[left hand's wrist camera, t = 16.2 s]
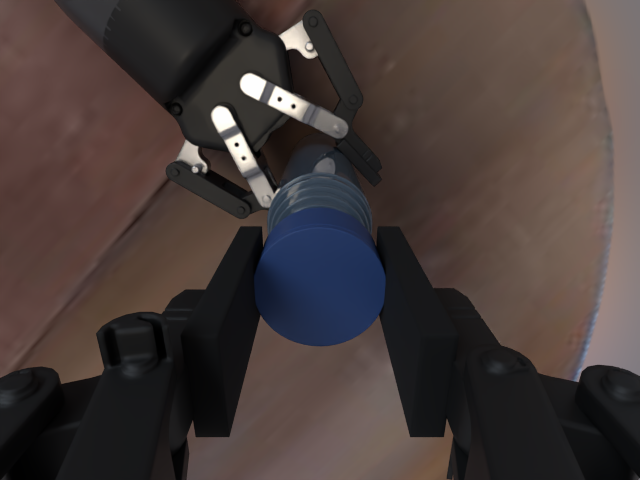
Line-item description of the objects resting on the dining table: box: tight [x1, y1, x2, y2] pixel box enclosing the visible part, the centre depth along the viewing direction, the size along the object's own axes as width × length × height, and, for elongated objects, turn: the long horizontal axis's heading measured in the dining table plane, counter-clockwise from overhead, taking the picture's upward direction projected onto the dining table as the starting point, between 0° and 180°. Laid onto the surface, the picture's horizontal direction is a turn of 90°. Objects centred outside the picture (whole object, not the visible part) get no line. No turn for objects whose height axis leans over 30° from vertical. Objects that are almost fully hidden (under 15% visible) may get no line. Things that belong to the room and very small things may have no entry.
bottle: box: [267, 133, 372, 235], centre depth 23 cm, size 5×5×21 cm
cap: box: [254, 207, 386, 346], centre depth 13 cm, size 4×4×2 cm
